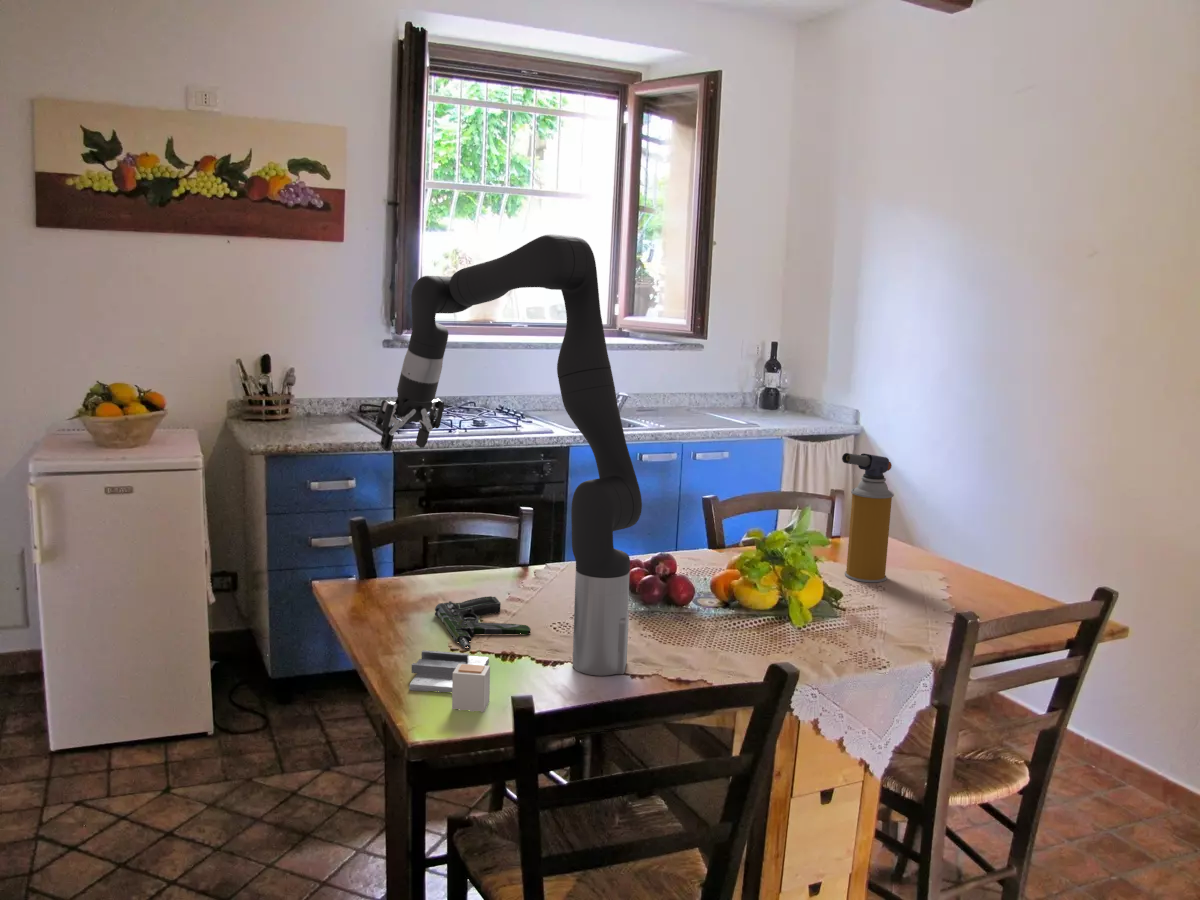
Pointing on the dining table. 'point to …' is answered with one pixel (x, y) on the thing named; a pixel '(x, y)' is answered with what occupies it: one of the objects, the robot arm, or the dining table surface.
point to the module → (471, 687)
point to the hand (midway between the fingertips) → (403, 447)
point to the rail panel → (440, 669)
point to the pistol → (474, 619)
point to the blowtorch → (869, 519)
